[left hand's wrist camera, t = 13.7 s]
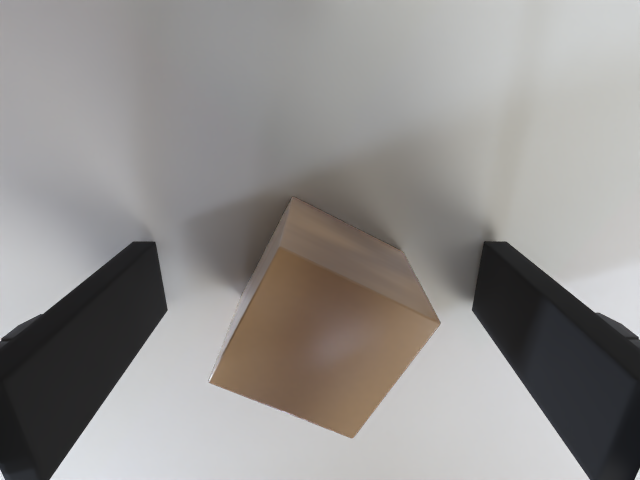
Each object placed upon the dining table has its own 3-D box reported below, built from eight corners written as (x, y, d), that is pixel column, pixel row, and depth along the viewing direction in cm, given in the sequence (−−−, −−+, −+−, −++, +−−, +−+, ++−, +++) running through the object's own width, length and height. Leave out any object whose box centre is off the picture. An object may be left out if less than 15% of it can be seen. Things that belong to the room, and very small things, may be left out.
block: (404, 251, 13) (442, 323, 9) (343, 342, 14) (352, 439, 10) (292, 195, 12) (279, 246, 8) (240, 297, 14) (207, 382, 10)
